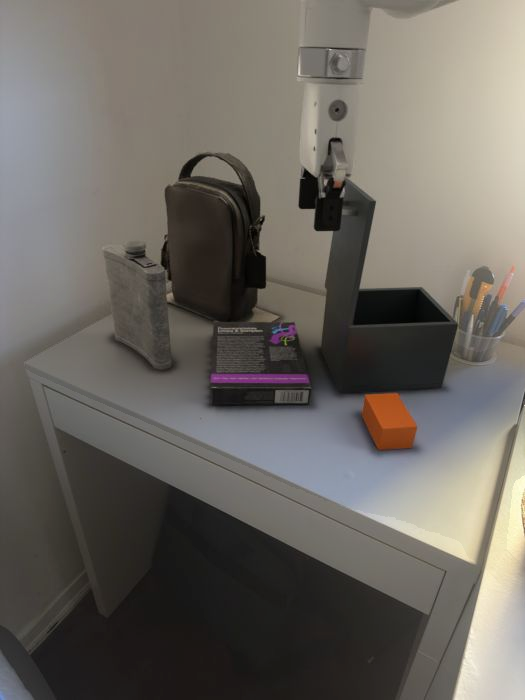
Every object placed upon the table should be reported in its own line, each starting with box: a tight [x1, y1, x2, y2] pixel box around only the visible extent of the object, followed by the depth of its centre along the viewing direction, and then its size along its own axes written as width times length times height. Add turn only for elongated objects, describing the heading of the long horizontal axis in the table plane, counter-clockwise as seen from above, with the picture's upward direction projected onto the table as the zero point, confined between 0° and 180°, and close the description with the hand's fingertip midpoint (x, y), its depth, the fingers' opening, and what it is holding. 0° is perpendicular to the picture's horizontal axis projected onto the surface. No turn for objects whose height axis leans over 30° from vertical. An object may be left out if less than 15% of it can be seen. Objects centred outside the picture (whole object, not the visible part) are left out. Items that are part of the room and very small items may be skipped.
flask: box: [102, 239, 173, 371], centre depth 77 cm, size 4×14×18 cm, turn 44°
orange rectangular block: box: [361, 392, 418, 451], centre depth 64 cm, size 7×4×4 cm, turn 7°
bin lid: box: [315, 177, 377, 325], centre depth 67 cm, size 16×13×5 cm
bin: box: [320, 286, 459, 394], centre depth 76 cm, size 16×13×11 cm
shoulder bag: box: [159, 150, 280, 322], centre depth 88 cm, size 23×9×28 cm, turn 53°
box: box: [209, 320, 312, 405], centre depth 77 cm, size 14×4×20 cm
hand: (317, 218), depth 65 cm, fingers open, 9 cm apart
